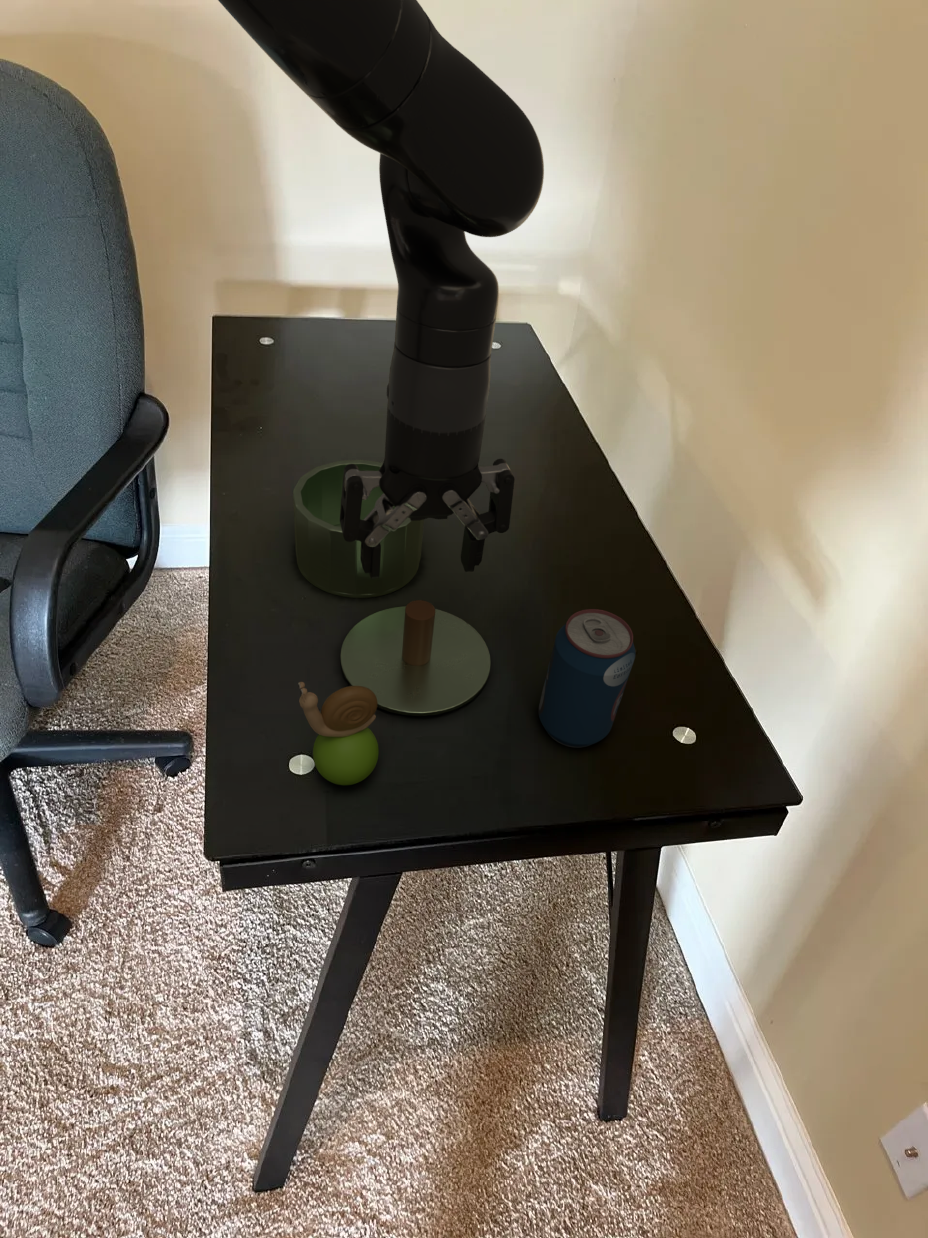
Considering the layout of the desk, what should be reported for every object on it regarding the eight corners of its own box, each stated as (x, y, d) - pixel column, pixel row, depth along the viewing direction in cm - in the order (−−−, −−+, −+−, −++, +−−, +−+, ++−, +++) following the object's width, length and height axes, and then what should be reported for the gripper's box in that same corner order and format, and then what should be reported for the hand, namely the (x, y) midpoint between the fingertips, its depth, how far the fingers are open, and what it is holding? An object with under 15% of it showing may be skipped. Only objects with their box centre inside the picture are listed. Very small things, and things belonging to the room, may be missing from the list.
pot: (303, 603, 86) (300, 537, 80) (291, 526, 95) (288, 462, 90) (430, 592, 89) (437, 529, 83) (406, 518, 99) (410, 457, 93)
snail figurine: (294, 759, 71) (288, 661, 63) (365, 740, 73) (368, 643, 65) (312, 809, 68) (309, 713, 59) (386, 787, 70) (392, 692, 62)
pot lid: (352, 729, 74) (353, 675, 69) (331, 620, 84) (330, 566, 80) (506, 710, 78) (517, 657, 73) (469, 608, 88) (476, 555, 83)
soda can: (621, 746, 76) (654, 654, 68) (551, 759, 74) (577, 666, 66) (591, 691, 81) (619, 599, 73) (525, 702, 79) (546, 609, 71)
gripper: (351, 431, 58) (347, 603, 69) (541, 426, 62) (508, 590, 73) (336, 381, 63) (334, 548, 74) (512, 379, 67) (486, 539, 78)
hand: (420, 569), depth 73 cm, fingers open, 8 cm apart
